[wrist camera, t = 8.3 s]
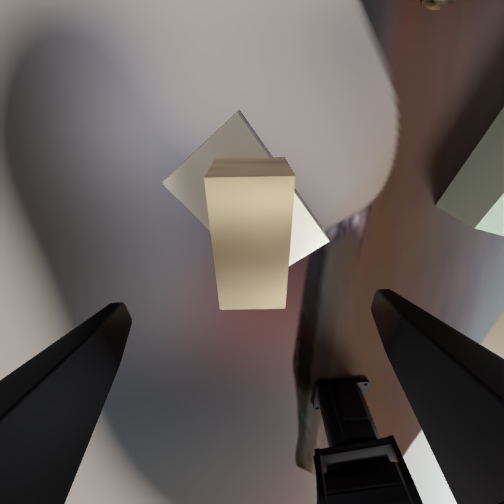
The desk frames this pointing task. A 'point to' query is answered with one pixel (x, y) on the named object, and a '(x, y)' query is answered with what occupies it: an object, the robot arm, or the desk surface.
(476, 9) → the desk surface
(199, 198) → the white brick
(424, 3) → the decorative rock
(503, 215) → the sage brick
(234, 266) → the birch brick
